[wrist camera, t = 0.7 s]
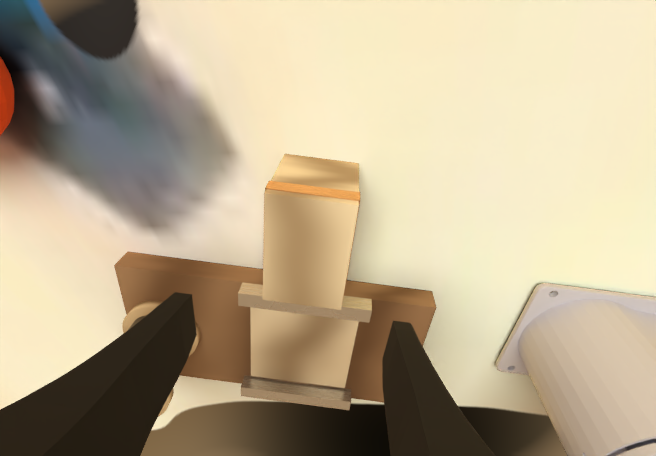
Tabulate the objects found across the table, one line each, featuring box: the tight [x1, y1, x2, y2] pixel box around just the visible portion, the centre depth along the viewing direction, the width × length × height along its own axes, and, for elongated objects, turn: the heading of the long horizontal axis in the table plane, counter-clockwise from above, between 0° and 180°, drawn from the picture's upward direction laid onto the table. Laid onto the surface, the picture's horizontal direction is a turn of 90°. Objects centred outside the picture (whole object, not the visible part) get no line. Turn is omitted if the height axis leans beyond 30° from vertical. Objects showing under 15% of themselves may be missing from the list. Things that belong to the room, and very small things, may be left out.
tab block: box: [263, 154, 360, 310], centre depth 19 cm, size 4×6×5 cm
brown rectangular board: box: [114, 252, 436, 410], centre depth 25 cm, size 20×10×2 cm, turn 84°
